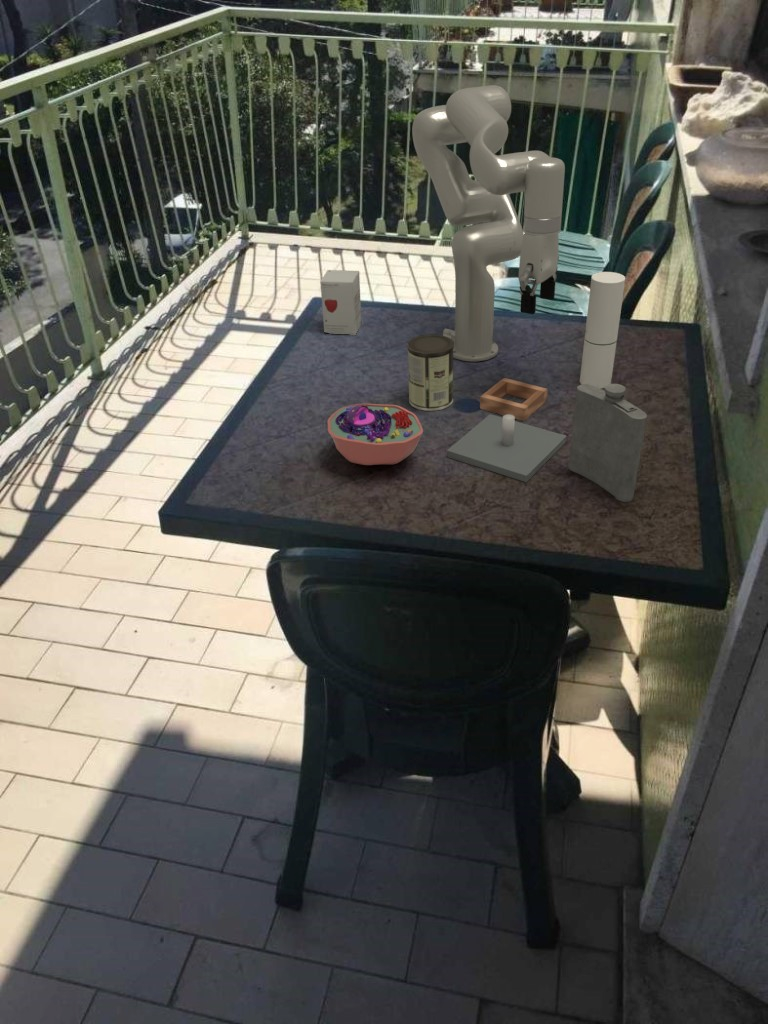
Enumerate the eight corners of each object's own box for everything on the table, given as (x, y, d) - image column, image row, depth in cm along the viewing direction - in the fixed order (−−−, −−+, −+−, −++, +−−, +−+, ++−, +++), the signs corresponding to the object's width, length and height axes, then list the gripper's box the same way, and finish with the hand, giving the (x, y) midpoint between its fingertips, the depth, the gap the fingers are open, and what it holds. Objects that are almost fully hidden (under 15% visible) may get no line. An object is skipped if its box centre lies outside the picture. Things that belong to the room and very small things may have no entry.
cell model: (396, 491, 157) (394, 440, 150) (312, 464, 166) (307, 415, 159) (439, 451, 168) (439, 402, 161) (358, 428, 177) (355, 381, 170)
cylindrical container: (609, 375, 194) (623, 271, 179) (612, 388, 188) (627, 283, 173) (578, 374, 194) (589, 271, 180) (581, 388, 189) (593, 283, 174)
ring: (479, 408, 182) (480, 396, 181) (503, 389, 190) (504, 377, 188) (524, 421, 177) (524, 408, 175) (546, 400, 184) (547, 388, 182)
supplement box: (323, 335, 219) (318, 280, 211) (330, 322, 227) (326, 269, 218) (356, 336, 218) (353, 281, 209) (362, 323, 225) (359, 269, 217)
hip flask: (564, 466, 161) (574, 374, 150) (580, 460, 163) (591, 369, 152) (624, 504, 150) (640, 407, 139) (640, 496, 152) (656, 401, 140)
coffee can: (428, 386, 192) (428, 330, 184) (462, 399, 186) (463, 341, 178) (398, 402, 186) (397, 344, 178) (433, 415, 180) (433, 357, 172)
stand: (446, 456, 166) (447, 424, 162) (489, 420, 178) (491, 389, 174) (526, 482, 157) (528, 449, 153) (566, 442, 169) (569, 410, 165)
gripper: (542, 212, 173) (538, 291, 183) (506, 232, 161) (503, 315, 171) (576, 215, 169) (569, 295, 179) (541, 236, 158) (536, 321, 167)
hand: (537, 305), depth 175 cm, fingers open, 9 cm apart
